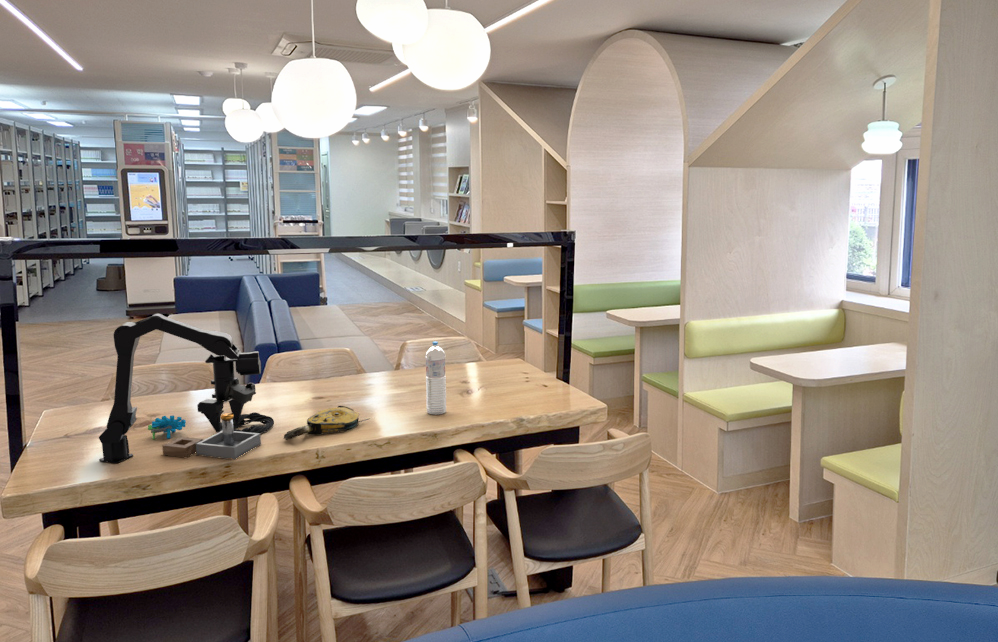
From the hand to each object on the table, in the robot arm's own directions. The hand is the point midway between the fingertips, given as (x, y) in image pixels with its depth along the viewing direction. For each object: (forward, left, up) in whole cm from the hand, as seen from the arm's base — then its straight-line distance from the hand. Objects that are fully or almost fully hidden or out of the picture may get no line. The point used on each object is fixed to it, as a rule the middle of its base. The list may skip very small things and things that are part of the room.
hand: (227, 427), depth 219 cm
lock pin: (0, 0, -6) cm, 6 cm away
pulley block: (+24, -18, -8) cm, 31 cm away
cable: (+17, +5, -8) cm, 19 cm away
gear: (+6, +27, -7) cm, 28 cm away
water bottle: (+51, -47, -7) cm, 70 cm away
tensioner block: (-5, +12, -7) cm, 15 cm away
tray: (0, 0, -7) cm, 7 cm away
